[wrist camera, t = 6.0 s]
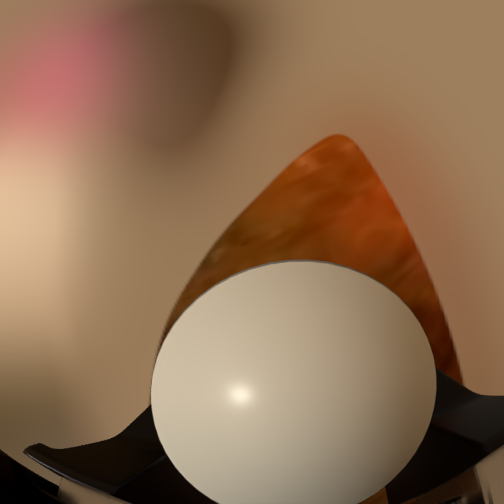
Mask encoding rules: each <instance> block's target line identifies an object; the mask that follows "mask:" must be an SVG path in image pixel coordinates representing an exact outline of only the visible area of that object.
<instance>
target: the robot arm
mask: <svg viewBox="0 0 504 504" xmlns="http://www.w3.org/2000/svg"><path fill="white" fill-rule="evenodd" d="M435 369H436V397H435V405H434V410H433V413H432V417H431V421H430V424H429V426H428V429H427V431H426V434H425V436H424V438H423V440H422V442H421V444H420V445H419V447H418V449H417V451H416V452H415V454H414V455H413V457H412V458H411V459H410V461H409V462H408V463H407V465H406V466H405V467H404V468H403V469H402V470H401V471H400V472H399V473H398V474H397V475H396V477H395V478H394V479H392V480H391V481H390V482H389V483H388V484H387V485H385V489H386V493H387V498H388V503H389V504H402V503H405V502H408V501H410V500H413V499H417V504H504V396H488V395H480V394H477V393H474V392H472V391H471V390H469V389H467V388H466V387H464V386H463V385H461V384H460V383H458V382H457V381H455V380H454V379H452V378H451V377H449V376H448V375H446V374H445V373H443V372H442V371H440V370H439V369H437V368H436V367H435ZM23 453H24V454H26V455H27V456H28V457H30V458H31V459H33V460H34V461H36V462H38V463H39V464H40V465H42V466H44V467H45V468H47V469H49V470H50V471H52V472H54V473H55V474H57V475H59V476H61V477H62V478H61V482H60V486H57V485H56V484H54V483H52V482H50V481H48V480H47V479H45V478H43V477H41V476H40V475H38V474H36V473H35V472H33V471H31V470H30V469H28V468H26V467H25V466H23V465H22V464H20V463H19V462H17V461H16V460H14V459H13V458H11V457H10V456H9V455H7V454H6V453H5V452H3V451H2V450H1V449H0V504H219V503H217V502H216V501H214V500H212V499H210V498H209V497H207V496H206V495H204V494H203V493H202V492H200V491H199V490H198V489H196V488H195V487H194V486H193V485H192V484H191V483H190V482H188V481H187V480H186V479H185V478H184V476H183V475H182V474H181V473H180V472H179V471H178V470H177V468H176V467H175V466H174V464H173V463H172V461H171V460H170V458H169V457H168V455H167V454H166V452H165V450H164V448H163V445H162V443H161V441H160V439H159V436H158V433H157V430H156V427H155V424H154V418H153V413H152V404H151V405H150V406H149V407H148V408H147V409H146V410H145V411H144V412H143V413H141V414H140V415H139V416H138V417H137V418H136V419H135V420H134V421H133V422H132V423H131V424H130V425H129V426H128V427H127V428H126V429H125V430H123V431H122V432H121V433H120V434H118V435H117V436H115V437H113V438H110V439H107V440H104V441H100V442H96V443H91V444H86V445H81V446H77V447H71V448H65V449H53V448H50V447H48V446H46V445H44V444H42V443H38V444H34V445H31V446H28V447H27V448H26V449H25V450H24V451H23Z"/></svg>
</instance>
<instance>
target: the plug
mask: <svg viewBox="0 0 504 504" xmlns="http://www.w3.org/2000/svg"><path fill="white" fill-rule="evenodd" d="M435 397H436V369H435V363H434V357H433V353H432V350H431V347H430V344H429V341H428V338H427V336H426V334H425V332H424V330H423V328H422V326H421V324H420V322H419V321H418V319H417V318H416V316H415V315H414V313H413V312H412V311H411V309H410V308H409V307H408V306H407V305H406V304H405V303H404V301H403V300H402V299H401V298H400V297H399V296H398V295H397V294H395V293H394V292H393V291H392V290H390V289H389V288H388V287H387V286H385V285H384V284H383V283H381V282H379V281H377V280H376V279H374V278H372V277H370V276H369V275H367V274H365V273H362V272H360V271H357V270H355V269H352V268H350V267H347V266H343V265H339V264H335V263H331V262H324V261H316V260H286V261H279V262H271V263H267V264H263V265H259V266H255V267H252V268H249V269H246V270H244V271H241V272H239V273H236V274H234V275H231V276H230V277H228V278H226V279H224V280H222V281H221V282H219V283H217V284H215V285H214V286H212V287H211V288H210V289H208V290H207V291H206V292H204V293H203V294H202V295H200V296H199V297H198V298H197V299H196V300H195V301H194V302H193V303H192V304H191V305H189V306H188V307H187V308H186V309H185V310H184V312H183V313H182V314H181V316H180V317H179V318H178V319H177V321H176V322H175V323H174V324H173V326H172V328H171V329H170V331H169V333H168V334H167V336H166V338H165V340H164V342H163V344H162V347H161V349H160V351H159V354H158V357H157V360H156V364H155V368H154V372H153V379H152V388H151V404H152V413H153V418H154V424H155V427H156V430H157V433H158V436H159V439H160V441H161V443H162V445H163V448H164V450H165V452H166V454H167V455H168V457H169V458H170V460H171V461H172V463H173V464H174V466H175V467H176V468H177V470H178V471H179V472H180V473H181V474H182V475H183V476H184V478H185V479H186V480H187V481H188V482H190V483H191V484H192V485H193V486H194V487H195V488H196V489H198V490H199V491H200V492H202V493H203V494H204V495H206V496H207V497H209V498H210V499H212V500H214V501H216V502H217V503H219V504H357V503H360V502H362V501H363V500H365V499H367V498H368V497H370V496H372V495H373V494H375V493H376V492H378V491H379V490H380V489H382V488H383V487H384V486H385V485H387V484H388V483H389V482H390V481H391V480H392V479H394V478H395V477H396V475H397V474H398V473H399V472H400V471H401V470H402V469H403V468H404V467H405V466H406V465H407V463H408V462H409V461H410V459H411V458H412V457H413V455H414V454H415V452H416V451H417V449H418V447H419V445H420V444H421V442H422V440H423V438H424V436H425V434H426V431H427V429H428V426H429V424H430V421H431V417H432V413H433V410H434V405H435Z"/></svg>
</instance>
